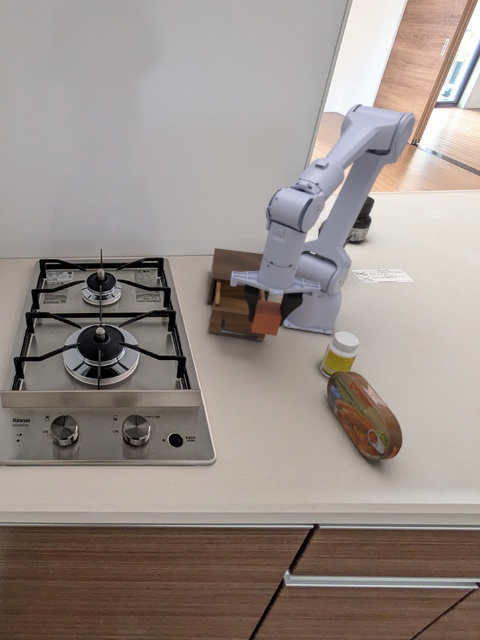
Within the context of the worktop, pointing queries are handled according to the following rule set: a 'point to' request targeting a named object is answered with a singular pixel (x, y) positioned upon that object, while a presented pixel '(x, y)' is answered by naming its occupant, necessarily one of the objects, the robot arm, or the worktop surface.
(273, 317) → the block
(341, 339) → the supplement bottle
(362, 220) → the ink bottle
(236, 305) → the drawer
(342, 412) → the tin
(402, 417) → the worktop surface
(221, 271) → the cabinet
